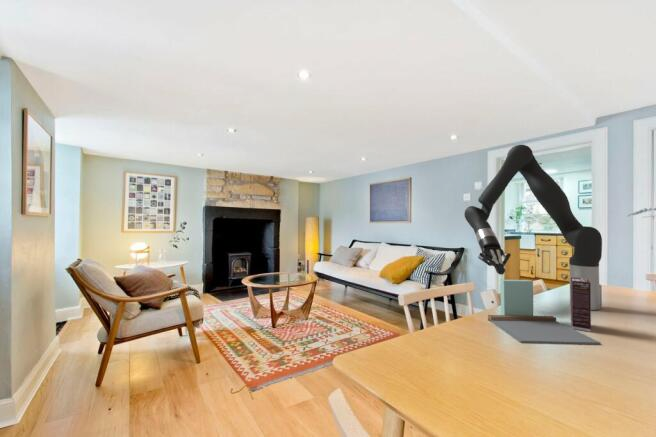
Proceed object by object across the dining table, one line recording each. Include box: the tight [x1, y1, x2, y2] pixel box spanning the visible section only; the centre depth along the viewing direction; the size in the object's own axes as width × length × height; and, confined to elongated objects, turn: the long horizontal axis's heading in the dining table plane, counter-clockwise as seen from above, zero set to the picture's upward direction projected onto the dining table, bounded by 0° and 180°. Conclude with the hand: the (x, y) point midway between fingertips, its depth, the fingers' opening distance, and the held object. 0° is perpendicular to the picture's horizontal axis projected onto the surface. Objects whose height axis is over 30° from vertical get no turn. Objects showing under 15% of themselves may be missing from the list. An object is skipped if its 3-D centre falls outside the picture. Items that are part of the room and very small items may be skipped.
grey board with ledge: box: [487, 314, 602, 346], centre depth 94 cm, size 20×22×2 cm
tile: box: [499, 279, 534, 316], centre depth 106 cm, size 2×10×14 cm, turn 86°
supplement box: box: [570, 277, 592, 333], centre depth 98 cm, size 9×5×16 cm, turn 143°
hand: (502, 273), depth 116 cm, fingers closed
